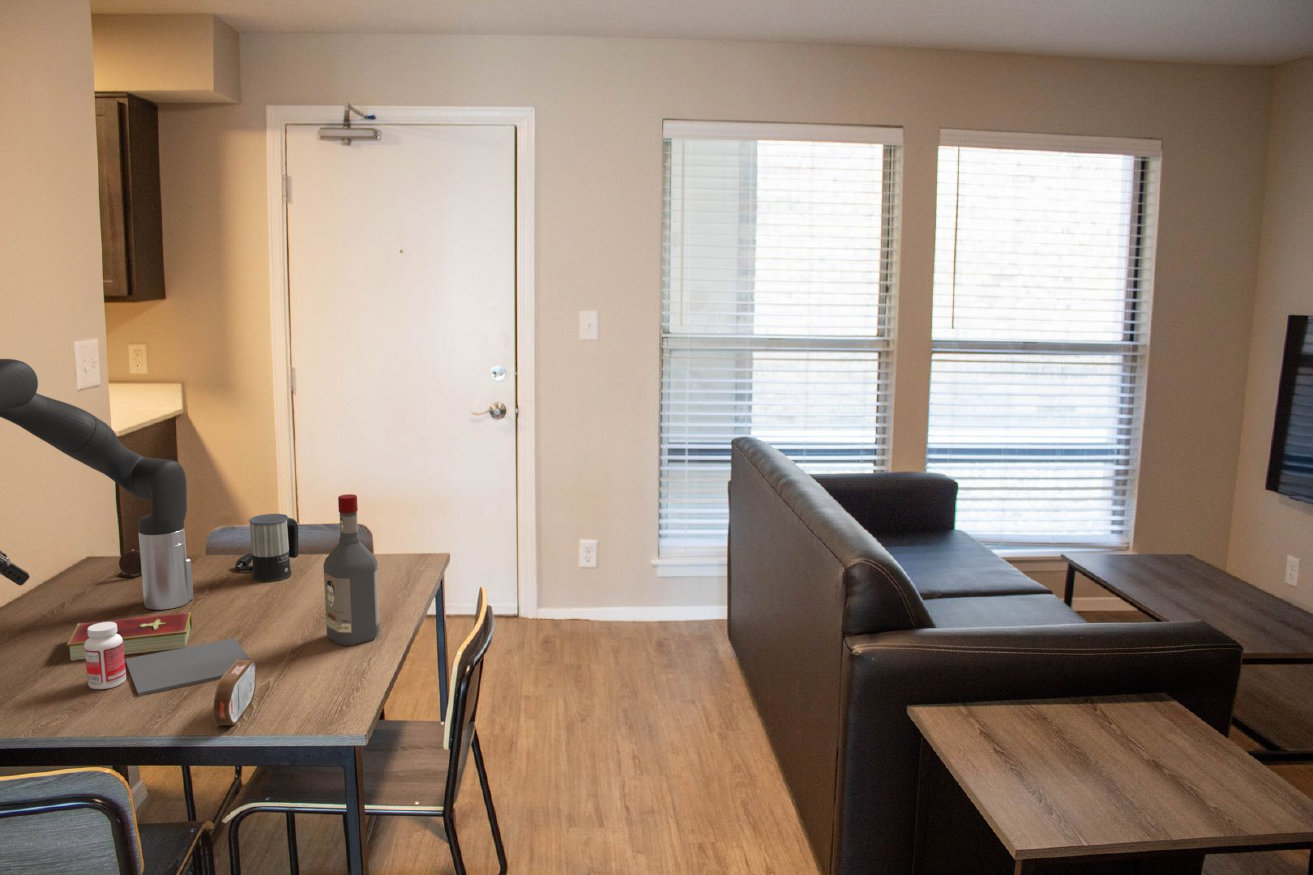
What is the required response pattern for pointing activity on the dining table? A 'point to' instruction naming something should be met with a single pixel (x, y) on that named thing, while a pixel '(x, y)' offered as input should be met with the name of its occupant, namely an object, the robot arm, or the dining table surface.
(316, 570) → the dining table surface
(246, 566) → the milk frother
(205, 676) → the mat
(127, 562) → the compass
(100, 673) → the pill bottle
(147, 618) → the hardcover book
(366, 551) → the liquor
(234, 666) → the tin
